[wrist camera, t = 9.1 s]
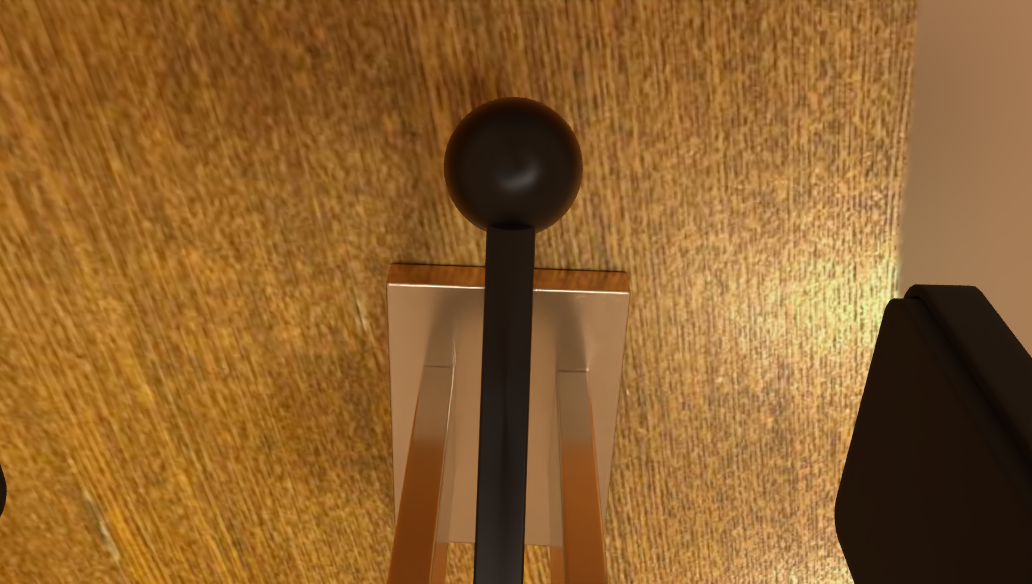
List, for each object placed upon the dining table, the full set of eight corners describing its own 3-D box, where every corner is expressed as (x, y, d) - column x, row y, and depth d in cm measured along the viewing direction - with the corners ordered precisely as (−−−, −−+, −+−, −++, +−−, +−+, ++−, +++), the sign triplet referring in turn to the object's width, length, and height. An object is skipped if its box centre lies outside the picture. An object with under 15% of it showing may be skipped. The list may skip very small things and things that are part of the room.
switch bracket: (391, 262, 29) (305, 597, 18) (627, 271, 29) (689, 611, 18) (399, 516, 34) (336, 901, 23) (600, 523, 34) (636, 910, 23)
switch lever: (450, 113, 24) (442, 77, 21) (579, 117, 24) (590, 83, 21) (425, 732, 23) (413, 793, 20) (559, 736, 23) (567, 798, 20)
